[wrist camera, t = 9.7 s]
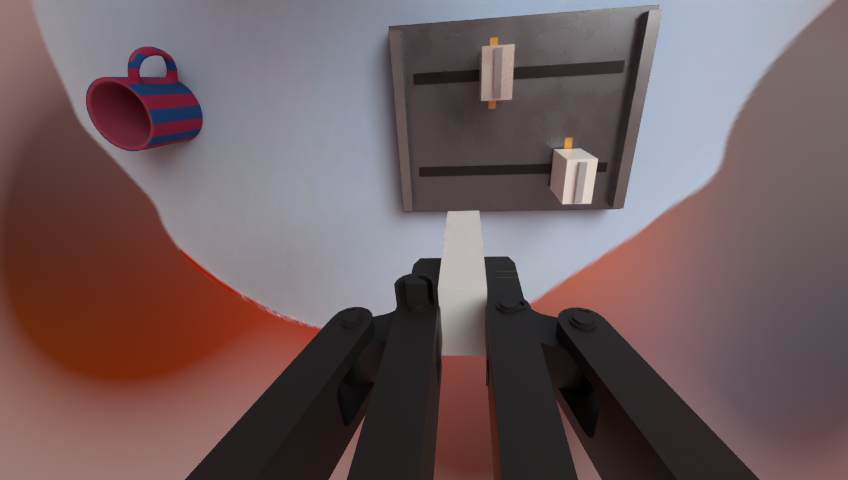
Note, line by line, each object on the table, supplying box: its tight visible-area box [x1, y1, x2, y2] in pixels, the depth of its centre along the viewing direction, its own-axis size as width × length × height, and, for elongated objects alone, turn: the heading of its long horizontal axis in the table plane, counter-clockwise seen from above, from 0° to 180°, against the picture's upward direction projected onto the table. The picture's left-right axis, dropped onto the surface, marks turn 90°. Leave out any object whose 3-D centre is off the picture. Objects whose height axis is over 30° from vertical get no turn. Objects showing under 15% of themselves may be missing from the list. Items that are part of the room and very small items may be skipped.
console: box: [389, 5, 663, 212], centre depth 32 cm, size 18×23×7 cm
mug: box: [86, 47, 202, 151], centre depth 35 cm, size 7×10×7 cm
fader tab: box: [550, 148, 598, 204], centre depth 32 cm, size 4×2×5 cm, turn 3°
